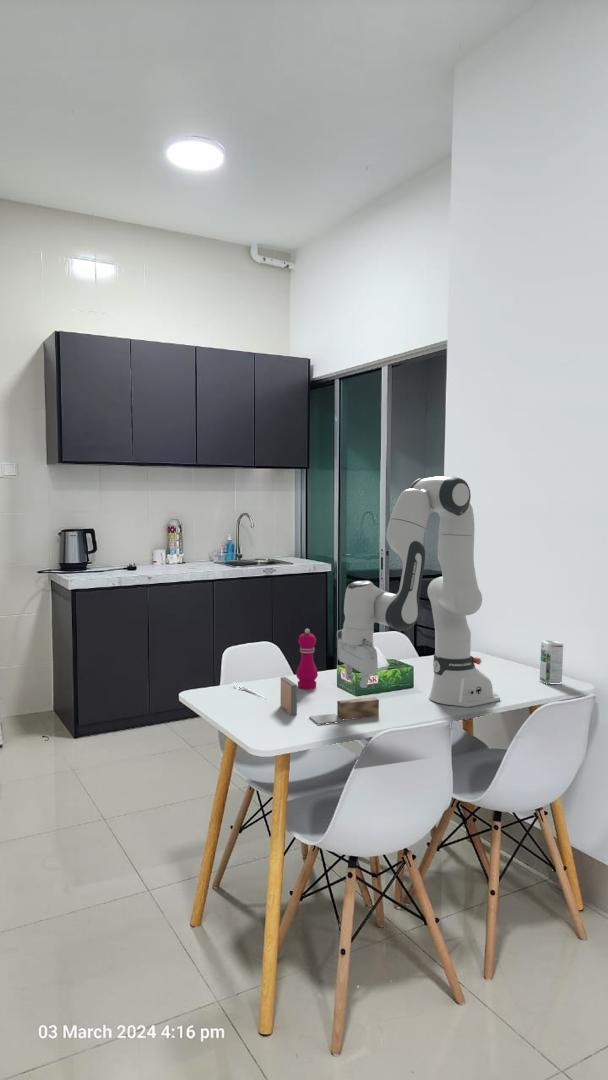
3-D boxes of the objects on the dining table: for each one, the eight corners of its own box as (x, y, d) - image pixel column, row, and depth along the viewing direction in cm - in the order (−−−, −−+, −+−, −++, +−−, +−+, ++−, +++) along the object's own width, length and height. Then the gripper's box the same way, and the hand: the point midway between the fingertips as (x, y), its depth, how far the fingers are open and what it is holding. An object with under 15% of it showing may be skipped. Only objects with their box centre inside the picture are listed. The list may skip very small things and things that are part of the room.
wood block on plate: (371, 711, 221) (371, 695, 221) (381, 718, 214) (381, 701, 214) (309, 718, 214) (309, 701, 214) (318, 725, 207) (318, 708, 207)
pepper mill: (317, 689, 245) (318, 630, 243) (296, 689, 245) (296, 630, 243) (317, 684, 252) (317, 626, 251) (296, 684, 252) (296, 626, 251)
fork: (263, 702, 232) (264, 696, 232) (230, 687, 248) (230, 682, 248) (272, 700, 234) (272, 695, 234) (238, 686, 250) (239, 680, 250)
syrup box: (538, 681, 258) (539, 640, 257) (554, 680, 259) (555, 639, 258) (546, 685, 252) (547, 643, 251) (562, 684, 253) (563, 643, 252)
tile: (285, 705, 226) (285, 677, 226) (296, 714, 217) (296, 684, 217) (280, 706, 226) (280, 677, 225) (291, 715, 217) (291, 685, 216)
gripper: (384, 643, 205) (382, 691, 206) (353, 630, 224) (351, 674, 225) (363, 644, 203) (362, 693, 204) (334, 630, 222) (332, 675, 223)
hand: (356, 683), depth 215 cm, fingers open, 8 cm apart
